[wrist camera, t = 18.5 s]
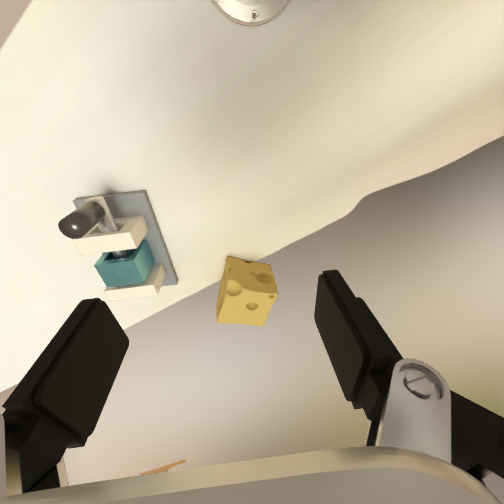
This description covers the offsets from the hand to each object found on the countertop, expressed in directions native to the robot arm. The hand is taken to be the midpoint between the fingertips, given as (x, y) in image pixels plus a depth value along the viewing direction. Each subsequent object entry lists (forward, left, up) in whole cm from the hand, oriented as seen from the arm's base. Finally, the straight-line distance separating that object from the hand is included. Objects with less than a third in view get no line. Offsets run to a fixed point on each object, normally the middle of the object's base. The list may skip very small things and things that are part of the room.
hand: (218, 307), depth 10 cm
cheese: (+26, 0, -34) cm, 42 cm away
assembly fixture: (+14, -21, -33) cm, 42 cm away
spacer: (+15, -21, -32) cm, 41 cm away
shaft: (+12, -21, -29) cm, 38 cm away
